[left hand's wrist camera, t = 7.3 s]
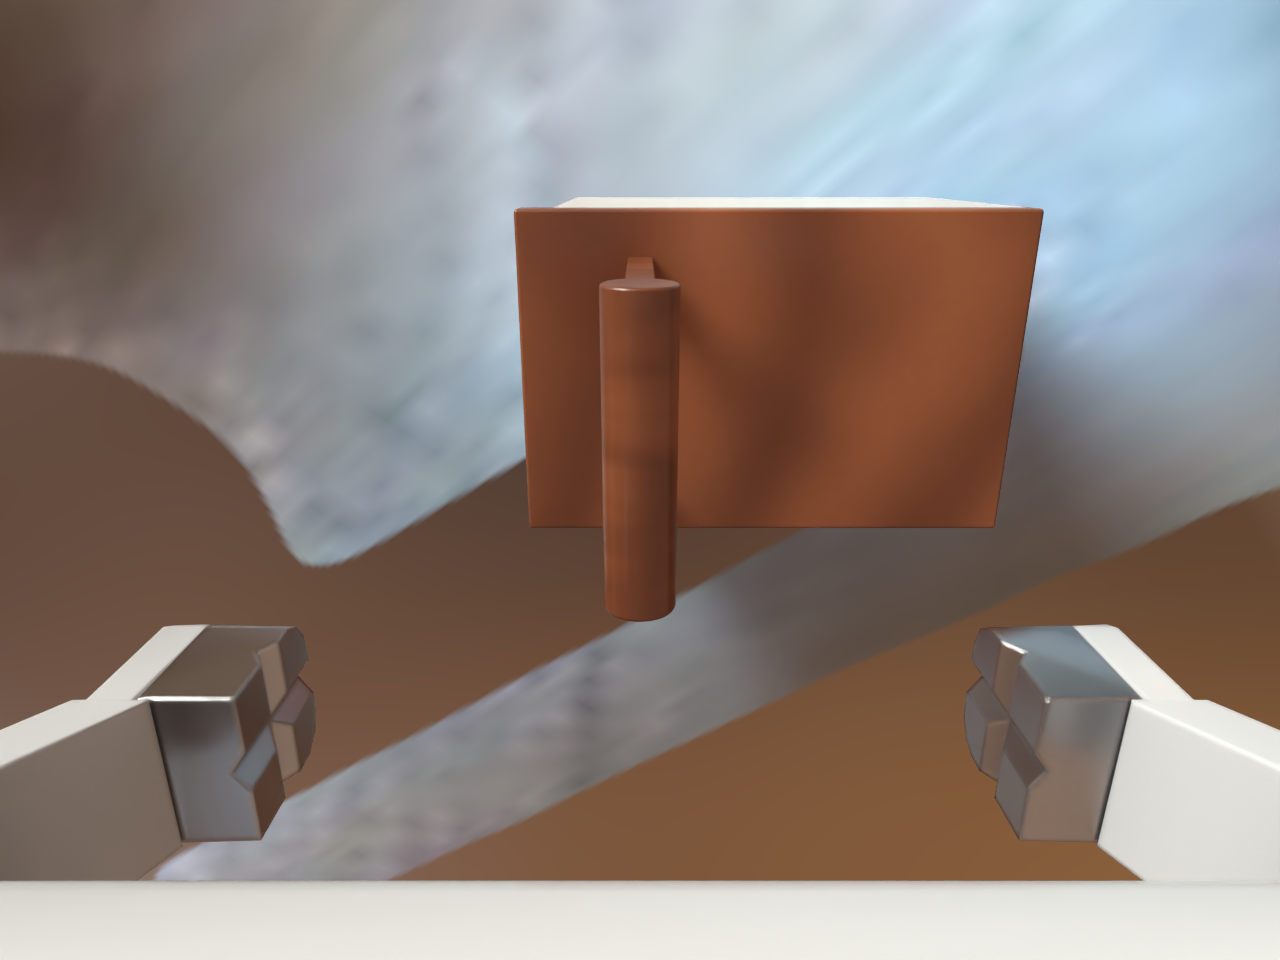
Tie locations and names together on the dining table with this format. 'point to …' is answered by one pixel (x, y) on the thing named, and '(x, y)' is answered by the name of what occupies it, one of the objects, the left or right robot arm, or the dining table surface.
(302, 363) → the dining table surface
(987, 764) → the left robot arm
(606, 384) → the lid
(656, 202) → the chest
